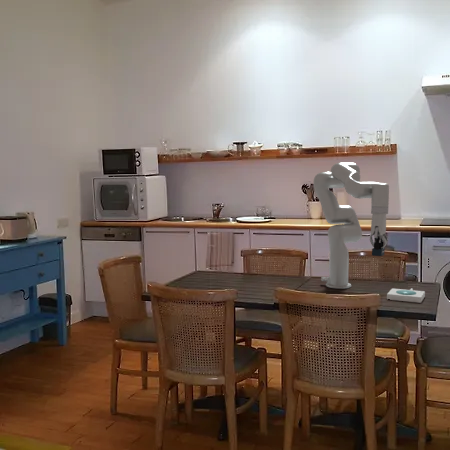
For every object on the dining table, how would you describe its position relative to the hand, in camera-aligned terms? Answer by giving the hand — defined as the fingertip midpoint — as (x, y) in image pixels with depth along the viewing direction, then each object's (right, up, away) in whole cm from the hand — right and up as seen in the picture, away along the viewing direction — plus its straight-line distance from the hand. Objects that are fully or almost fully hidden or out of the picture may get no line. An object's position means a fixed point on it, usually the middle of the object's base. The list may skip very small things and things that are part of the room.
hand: (378, 250), depth 263 cm
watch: (0, -2, 0) cm, 2 cm away
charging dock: (+17, -22, +11) cm, 30 cm away
